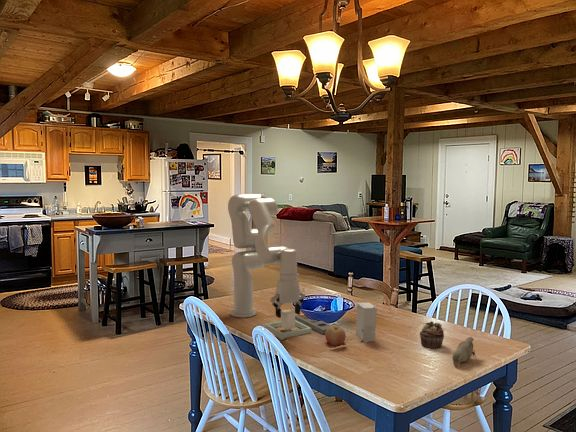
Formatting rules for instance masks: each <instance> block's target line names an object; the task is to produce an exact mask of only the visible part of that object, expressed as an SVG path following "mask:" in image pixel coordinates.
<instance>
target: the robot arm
mask: <svg viewBox="0 0 576 432" xmlns="http://www.w3.org/2000/svg"><path fill="white" fill-rule="evenodd" d="M227 211H228V214H229V218H230V222H231V234H232V243H233V246H234V247H235V248H236V249H251V250H244V251H243V250H242V251H238V252H235V253H234V254H233V255H232V257H231V265H232V270H233V271H232V272H233V310H231V311H230V315H231V316H232V317H234V318H242V319H243V318H244V319H245V318H250V317H251V318H252V317H254V316H256V315H257V311H256V310H255V309H254V278H253V275H252V273H251V272H250V271H252V270H258V269H262V268H264V266H265V265H274V264H276V265H277V264H279V279H278V280H277V283H276V289H275V295H274V296H272V297H270V299H269V300H270V302H271V304H272V306H273V307H274V308H275V317H277V318H279V319H281V311H282V308H281V307H282V305H285V304H286V305H287V304H294V303H295V304H294V312H295V315H299V314H301V306H302V304H303V302H304V301H305V298H306V294H305V293H302V292H301V290H300V284H299V279H298V277H299V276H300V273H298V251H297V249H295V248H289V247H288V246H284V245H279V246H270V247H268V245H267V243H266V241H265V236H266V235H268V234H269V233H271V232H272V231H273V230H274V229H275V227H276V224H275V221H274V219H273V216H275V215H277V213H278V211H279V208H278V203H277V202H276V200H275V199H274V198H272V197H269V196H266V195H264V194H261V193H237V194H233V195H232V196H231V197H230V198H229V200H228V202H227ZM244 212H249V215H250V216H251V219H252V221H253V223H254V226H255V228H250V224H249V223H250V222H249V219H248V217H247V214H245V213H244Z"/></svg>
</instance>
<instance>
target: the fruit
mask: <svg viewBox="0 0 576 432" xmlns="http://www.w3.org/2000/svg"><path fill="white" fill-rule="evenodd" d="M324 336H325V340H326V342H327V343H328V344H329V345H331V346H334V347H336V348H337V347H340V346H342V345H343V344H344V343H345V341H346V339H347V338H346V336H347V335H346V332H345V330H344V329H343V328H342V327H341V326H339V325H335V324H334V325H332V326H330V327H329V328H328V329H327V330H326V333H325V334H324Z"/></svg>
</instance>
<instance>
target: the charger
mask: <svg viewBox="0 0 576 432" xmlns="http://www.w3.org/2000/svg"><path fill="white" fill-rule="evenodd" d="M295 315H296V313H295V311H293V310H291V309H287V310H285V309H284V310H281V318H280V321H281V327H282V328H284V332H288V331H292V330H294V329H296V326H295Z"/></svg>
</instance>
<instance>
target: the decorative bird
mask: <svg viewBox="0 0 576 432" xmlns="http://www.w3.org/2000/svg"><path fill="white" fill-rule="evenodd" d="M474 340H475V339H474V337H472V336H469V337H467V338H466V339H465V340H464V341H462V342H460V343H459V344H458V346H457V348H456V349H455V350H454V352H453V353H452V362H453V365H454V367H455V368H458V366H459V365H460V363H464V362H467V361H470V359H471V357H474V356H475V357H477V355H476V352H475V349H474V343H473V342H474Z"/></svg>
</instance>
